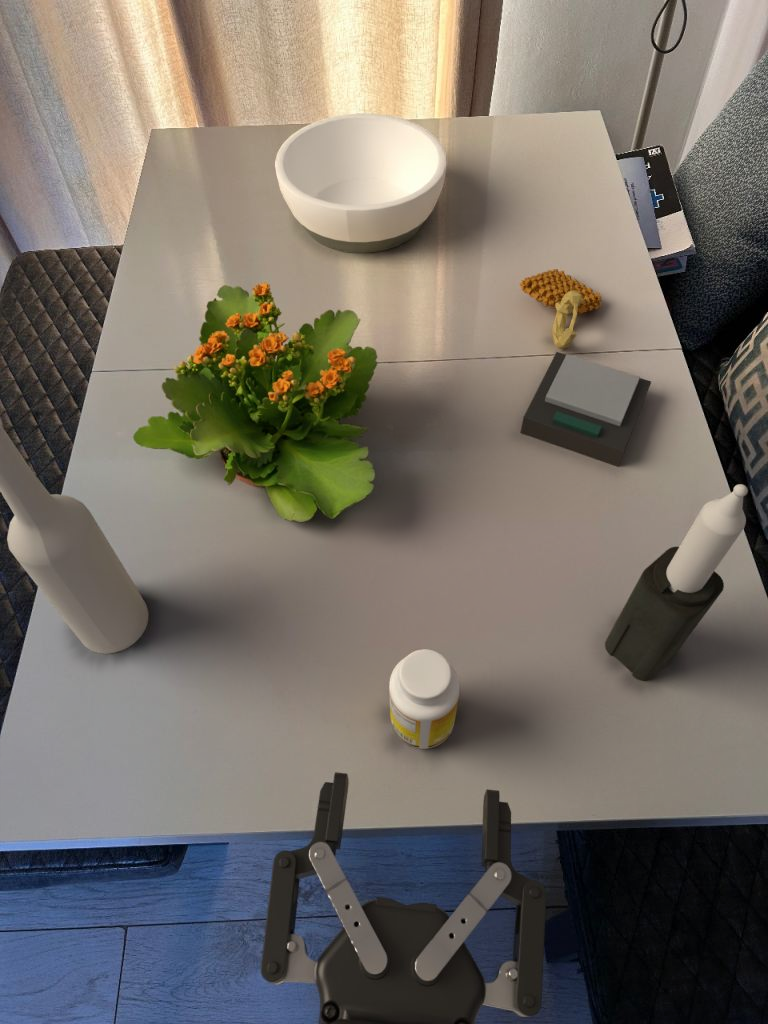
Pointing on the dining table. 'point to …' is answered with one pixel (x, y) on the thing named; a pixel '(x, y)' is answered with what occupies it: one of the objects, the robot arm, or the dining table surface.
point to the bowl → (361, 180)
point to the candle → (677, 590)
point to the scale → (586, 408)
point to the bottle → (70, 559)
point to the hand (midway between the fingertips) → (415, 784)
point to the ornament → (561, 300)
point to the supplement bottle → (423, 699)
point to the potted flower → (273, 404)
